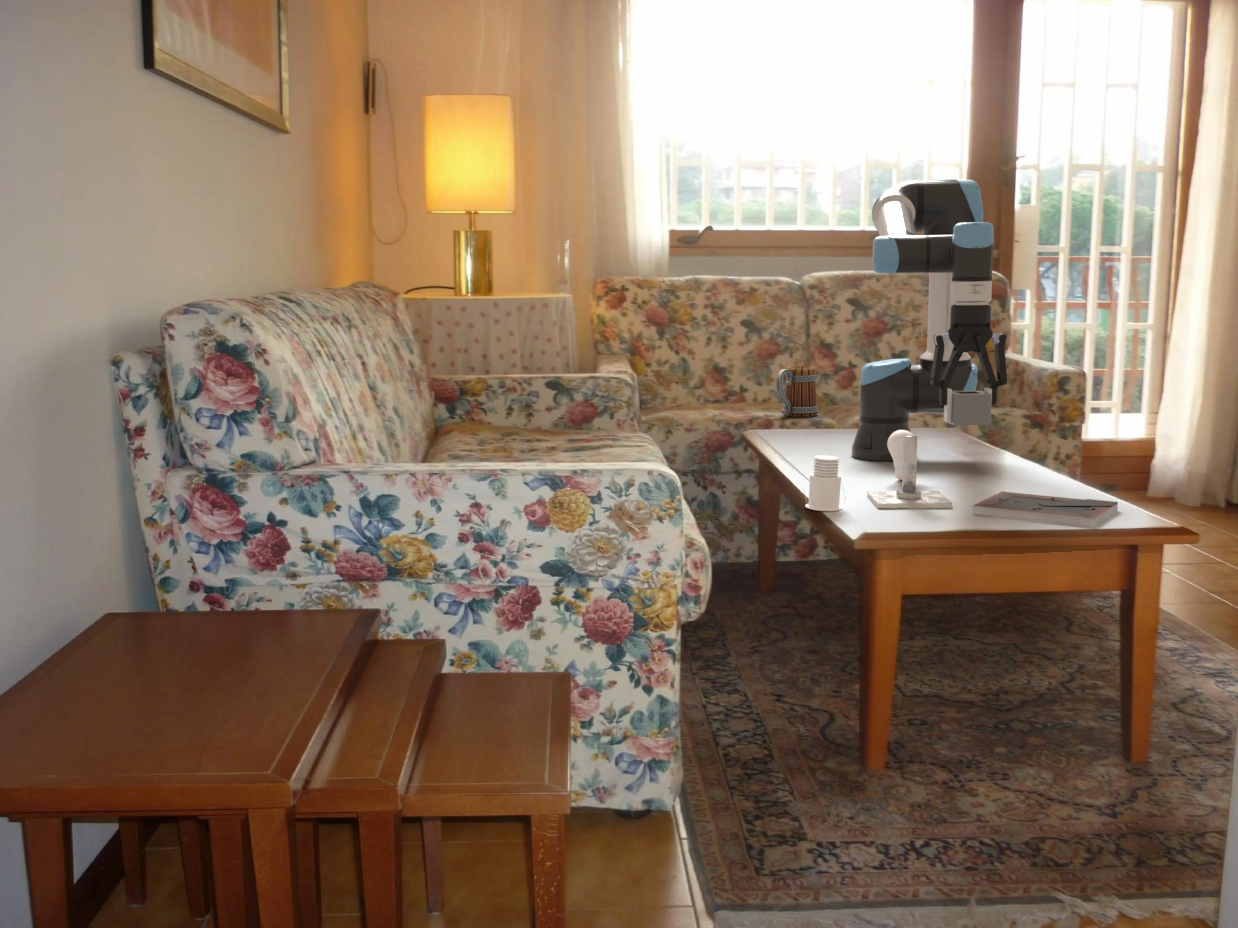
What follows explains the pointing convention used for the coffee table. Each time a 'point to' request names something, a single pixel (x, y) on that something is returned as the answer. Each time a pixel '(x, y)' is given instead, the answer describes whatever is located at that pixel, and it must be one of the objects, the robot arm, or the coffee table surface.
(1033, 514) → the picture frame
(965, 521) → the coffee table surface
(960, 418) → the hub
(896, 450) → the lightbulb
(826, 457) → the downlight
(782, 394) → the mug
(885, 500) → the shaft
